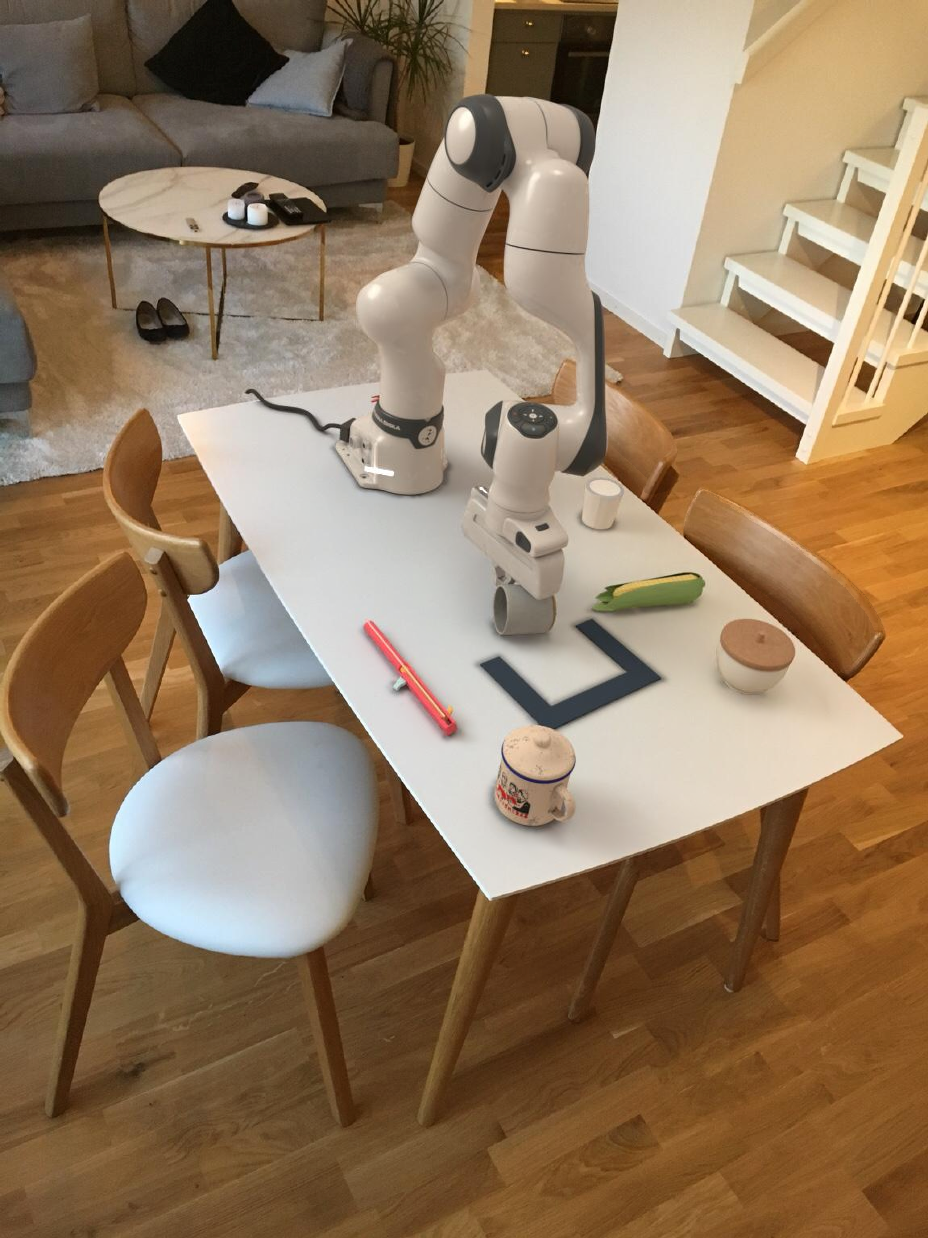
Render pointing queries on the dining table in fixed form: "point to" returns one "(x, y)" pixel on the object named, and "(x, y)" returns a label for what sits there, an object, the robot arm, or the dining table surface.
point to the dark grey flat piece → (586, 700)
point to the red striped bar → (412, 680)
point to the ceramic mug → (521, 611)
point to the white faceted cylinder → (601, 502)
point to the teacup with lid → (535, 776)
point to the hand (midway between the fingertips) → (503, 588)
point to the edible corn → (652, 592)
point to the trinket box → (753, 655)
